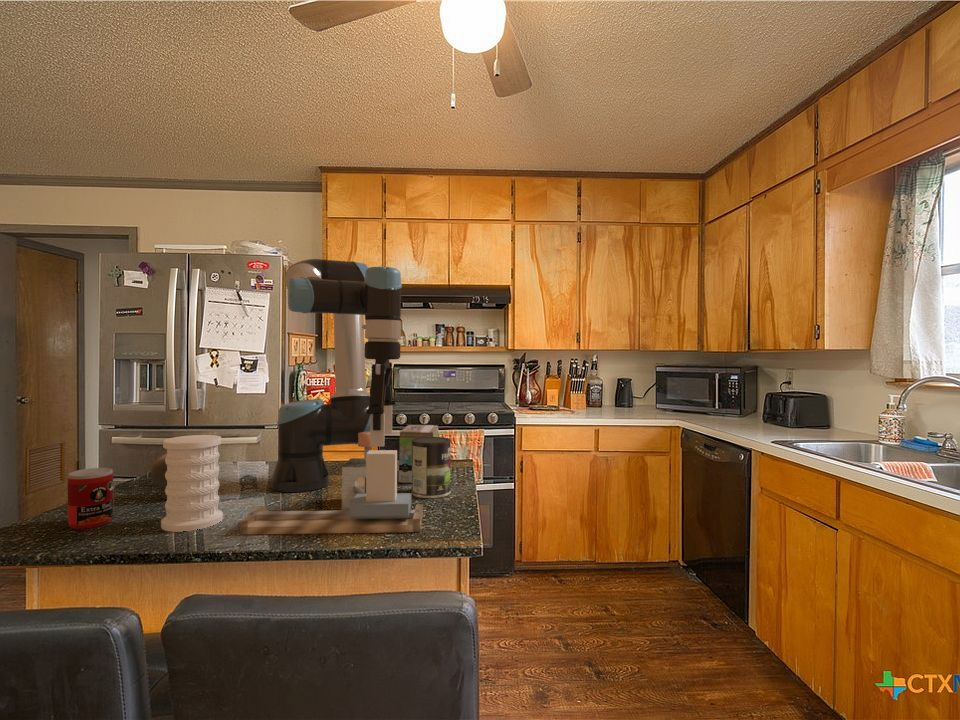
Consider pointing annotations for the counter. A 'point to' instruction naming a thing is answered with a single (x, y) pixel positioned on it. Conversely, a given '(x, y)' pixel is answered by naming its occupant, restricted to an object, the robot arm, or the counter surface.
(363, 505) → the carriage
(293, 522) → the rail track
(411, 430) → the tea box
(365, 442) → the plunger
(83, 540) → the counter surface
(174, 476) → the decorative container
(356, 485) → the box with ball knob
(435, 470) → the coffee can
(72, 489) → the canned food
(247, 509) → the counter surface
